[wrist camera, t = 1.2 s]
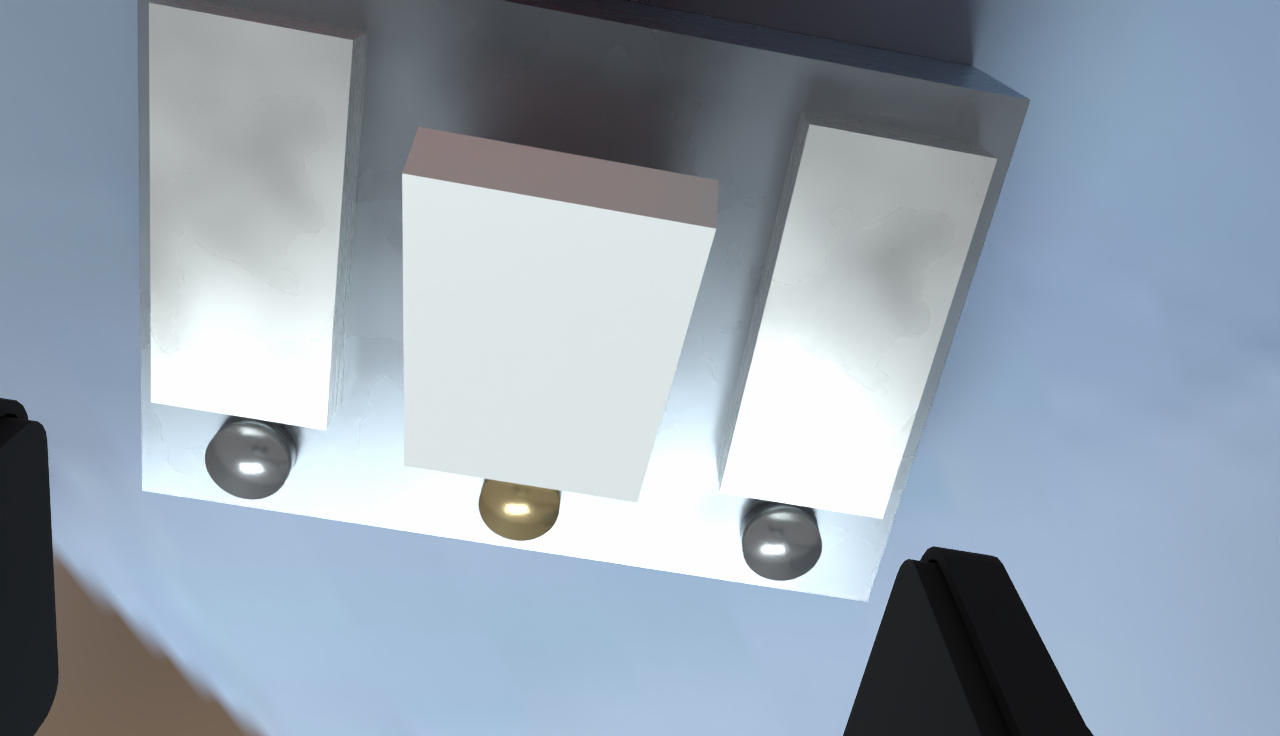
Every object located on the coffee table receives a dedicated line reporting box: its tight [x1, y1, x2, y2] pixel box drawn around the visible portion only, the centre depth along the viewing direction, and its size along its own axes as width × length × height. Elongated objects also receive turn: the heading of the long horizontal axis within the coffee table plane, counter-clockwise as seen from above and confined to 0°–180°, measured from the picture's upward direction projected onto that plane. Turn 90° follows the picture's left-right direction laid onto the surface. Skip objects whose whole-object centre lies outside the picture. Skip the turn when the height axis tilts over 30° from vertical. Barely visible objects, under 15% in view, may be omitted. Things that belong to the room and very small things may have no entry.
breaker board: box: [138, 0, 1030, 602], centre depth 24 cm, size 12×17×5 cm
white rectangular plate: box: [402, 127, 719, 502], centre depth 21 cm, size 8×5×1 cm, turn 169°
